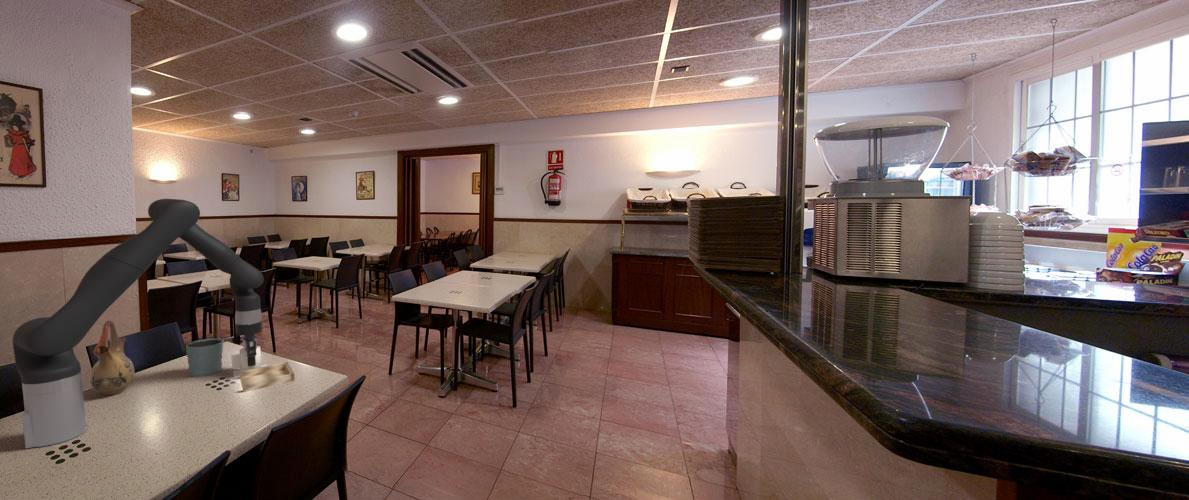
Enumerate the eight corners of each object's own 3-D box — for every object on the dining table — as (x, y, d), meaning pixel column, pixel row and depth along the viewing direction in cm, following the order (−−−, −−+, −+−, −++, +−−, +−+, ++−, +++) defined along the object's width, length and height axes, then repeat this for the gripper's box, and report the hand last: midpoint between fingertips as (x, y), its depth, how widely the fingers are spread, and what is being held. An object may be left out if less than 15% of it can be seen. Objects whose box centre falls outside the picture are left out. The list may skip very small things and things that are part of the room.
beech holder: (243, 393, 132) (243, 385, 131) (240, 379, 142) (239, 371, 142) (294, 381, 142) (294, 373, 141) (287, 369, 152) (287, 362, 152)
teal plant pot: (195, 369, 149) (194, 339, 148) (229, 366, 153) (228, 337, 152) (181, 380, 140) (179, 348, 138) (217, 376, 144) (216, 345, 143)
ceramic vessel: (125, 398, 125) (119, 325, 123) (81, 406, 120) (74, 329, 117) (142, 380, 138) (137, 313, 136) (103, 386, 133) (97, 316, 130)
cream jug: (232, 377, 141) (231, 354, 141) (231, 372, 145) (230, 349, 145) (262, 371, 147) (261, 348, 147) (260, 366, 151) (259, 345, 151)
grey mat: (234, 381, 140) (234, 379, 140) (232, 372, 147) (232, 371, 147) (270, 373, 148) (269, 372, 148) (266, 365, 154) (266, 364, 154)
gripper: (234, 318, 148) (236, 360, 149) (236, 327, 138) (239, 371, 139) (259, 315, 153) (261, 355, 155) (264, 323, 143) (265, 366, 145)
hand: (250, 362), depth 147 cm, fingers open, 6 cm apart
